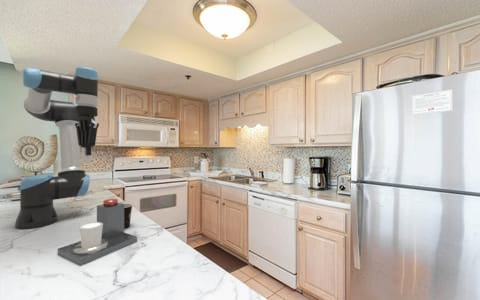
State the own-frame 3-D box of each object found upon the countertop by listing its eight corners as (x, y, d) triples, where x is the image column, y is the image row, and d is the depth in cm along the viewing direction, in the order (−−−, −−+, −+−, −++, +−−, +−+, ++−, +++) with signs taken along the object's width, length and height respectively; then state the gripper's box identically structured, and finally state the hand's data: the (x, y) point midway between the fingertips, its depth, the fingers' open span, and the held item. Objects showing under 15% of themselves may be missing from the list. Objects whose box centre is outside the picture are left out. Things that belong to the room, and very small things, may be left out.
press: (57, 254, 75) (57, 214, 75) (114, 234, 93) (113, 201, 93) (80, 265, 68) (80, 221, 68) (137, 241, 86) (136, 206, 86)
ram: (100, 229, 87) (100, 200, 87) (113, 225, 92) (113, 198, 92) (108, 231, 85) (108, 202, 85) (120, 227, 89) (120, 199, 89)
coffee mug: (123, 231, 96) (123, 209, 96) (106, 230, 98) (106, 207, 98) (140, 222, 107) (140, 202, 107) (125, 221, 109) (125, 201, 109)
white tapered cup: (87, 240, 79) (87, 222, 79) (106, 240, 80) (106, 221, 80) (74, 249, 73) (74, 229, 72) (95, 249, 73) (95, 228, 73)
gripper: (67, 105, 89) (67, 162, 90) (86, 103, 83) (85, 164, 84) (87, 108, 96) (87, 161, 97) (105, 107, 90) (105, 163, 91)
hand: (86, 163), depth 91 cm, fingers closed
